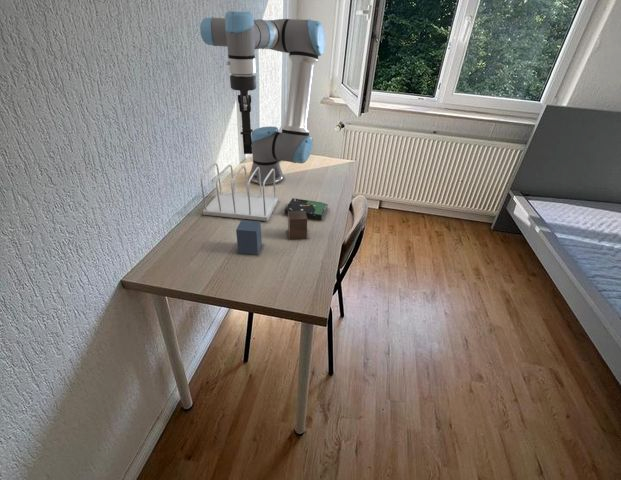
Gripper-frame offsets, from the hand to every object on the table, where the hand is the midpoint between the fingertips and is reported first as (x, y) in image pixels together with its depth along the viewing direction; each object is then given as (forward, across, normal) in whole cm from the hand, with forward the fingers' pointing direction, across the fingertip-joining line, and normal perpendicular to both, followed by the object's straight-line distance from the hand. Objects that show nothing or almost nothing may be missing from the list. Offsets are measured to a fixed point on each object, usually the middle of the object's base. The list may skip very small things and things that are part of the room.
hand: (248, 153), depth 114 cm
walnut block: (+26, +11, +15) cm, 32 cm away
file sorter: (+27, -12, -4) cm, 29 cm away
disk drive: (+27, -5, +21) cm, 34 cm away
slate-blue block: (+26, +17, -2) cm, 32 cm away
